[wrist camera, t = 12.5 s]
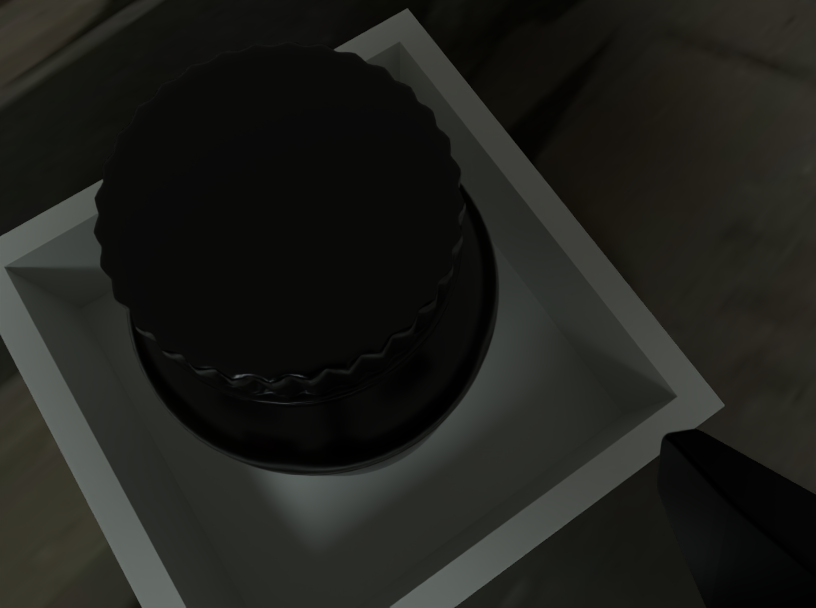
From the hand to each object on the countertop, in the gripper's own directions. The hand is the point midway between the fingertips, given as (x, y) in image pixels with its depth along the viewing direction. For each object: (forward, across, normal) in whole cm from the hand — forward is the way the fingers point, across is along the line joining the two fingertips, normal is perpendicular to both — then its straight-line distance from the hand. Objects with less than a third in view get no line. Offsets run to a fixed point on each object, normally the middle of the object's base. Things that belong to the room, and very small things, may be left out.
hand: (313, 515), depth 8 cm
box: (+11, 0, +5) cm, 13 cm away
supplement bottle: (+11, 0, +5) cm, 12 cm away
